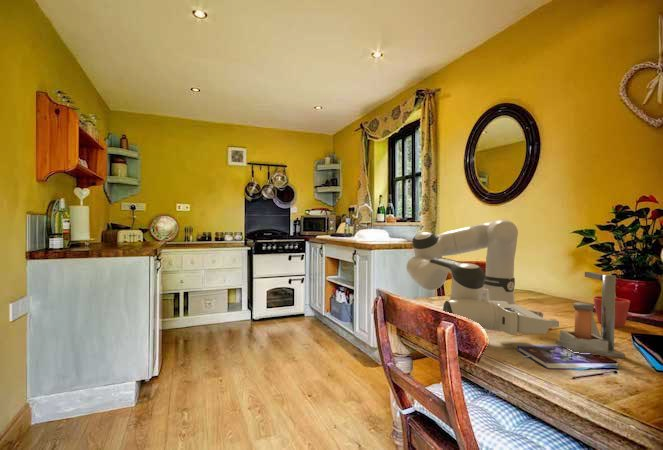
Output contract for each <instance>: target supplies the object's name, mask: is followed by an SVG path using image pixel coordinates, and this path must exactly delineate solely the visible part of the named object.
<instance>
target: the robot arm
mask: <svg viewBox="0 0 663 450" xmlns="http://www.w3.org/2000/svg"><path fill="white" fill-rule="evenodd" d="M518 235H519V230H518V227H517V226H516V225H515V223H514V222H512V221H511V220H508V219H496V220H493V221H492V220H491V221H489V222H488V221H487V222H484V223H479V224H476V225H471V226H466V227H461V228H458V229H457V228H456V229H453V230H449V231H445V232H441V233H439V234H435V233H432V232H430V231H424V232H419V233H416V234H415V235H414V237H412V248H413V252H414V256H413V257H411V258H410V259H409V260H408V261H407V263H406V271H407V273H408V275H409V276H410V278H411V279H412V280H413V281H414V282H415V283H416V284H417V285H418V286H419V287H421V289H424V290H428V291H434V290H438V289H439V288H441V287H442V286H443V285H444V284H445V283H446V280H447V276H448V273H449V274H451V289H450V296H449V299H447V300H445V301H444V303H443V306H442V312H443V311H445V312H449V313H453V314H457V315H460V316H463V317H466V318H468V319H471V320H473V321H475V322H477V323H479V324H480V325H481V326H482V327H483V328H482V329H485V330H486V331H487V330H488V331H496V332H503V333H505V334H508V335H513V336H516V335H518V334H523V335H524V334H525V335H526V334H527V335H528V334H529V335H538V334H539V335H544V334H547V333H548V332H549V329H550V328H559V327H560V321H559V320H557V319H555V318H552V319H551V318H550V319H546V318H544V313H543V312H541V311H538V310H537V311H536V310H531V309H527V308H525V306H524V307H523V306H522V305H520V304H516V299H515V290H514V289H515V285H516V279H515V277H514V276H515V274H514V273H515V256H516V251H517V244H518ZM482 249H483V250H484V249H487V250H486V256H485V271H484V269H482V267H480V266H479V265H478V264H474V263H469V262H462V261H460V260H459V261H458V260H454V259H450V258H446V256H448V257H449V256H456V255H461V254H465V253H470V252H476V251H479V250H482Z"/></svg>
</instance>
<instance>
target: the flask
mask: <svg viewBox="0 0 663 450" xmlns="http://www.w3.org/2000/svg"><path fill="white" fill-rule="evenodd" d="M593 311H594V310H592V331H591V333H592V334H594V335H596V336H598V337H600V338H601V332H600V331H599V329H598V326H597V323H596V321H595V318H594V312H593ZM573 331H575V329H574V330H573Z"/></svg>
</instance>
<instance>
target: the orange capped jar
mask: <svg viewBox="0 0 663 450" xmlns="http://www.w3.org/2000/svg"><path fill="white" fill-rule="evenodd" d="M572 306H573V308H574V330H575V335H574V336H575V337H577V338H584V339H591V331H592V310H593V311H594V308H595V304H594V305H593V304H591V303H586V302H576V301H575V302H573V305H572Z"/></svg>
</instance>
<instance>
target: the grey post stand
mask: <svg viewBox="0 0 663 450" xmlns="http://www.w3.org/2000/svg"><path fill="white" fill-rule="evenodd" d="M584 278H588V279H593V280H597V281H602V282H601V283H602V284H601V296H602V313H601V323H600V336H601V337H598V336H596V335H594V334H592V333H591V339H584V338H577V337H575V336H574V335H575V331H574V330H563V329H562V330H561V329H560V330H559V338H555V343H556V344H558V345H559V346H561V347H562V346H564V347H566V348H568V349H570V350H572V351H573V352H579V353H593V354H597V355H600V356H599V357H608V358H621V359H622V358H623V359H625V358H626V354H625V353H623V352H621V350H619V349H616V348H615V326H614V324H615V298H616V284H617V283H616V280H617V279H616V278H617V276H616V275H614V274H613V275H611V274H603V273H599V272H593V271H584ZM564 347H563V348H564Z"/></svg>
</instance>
